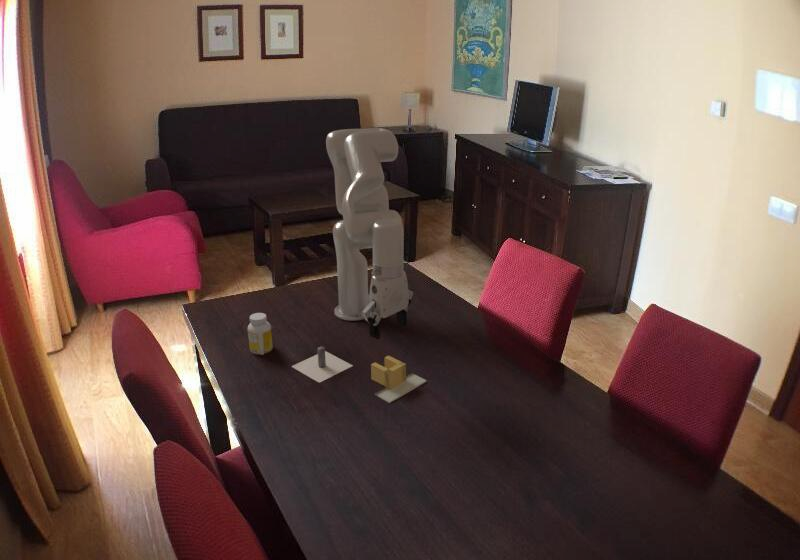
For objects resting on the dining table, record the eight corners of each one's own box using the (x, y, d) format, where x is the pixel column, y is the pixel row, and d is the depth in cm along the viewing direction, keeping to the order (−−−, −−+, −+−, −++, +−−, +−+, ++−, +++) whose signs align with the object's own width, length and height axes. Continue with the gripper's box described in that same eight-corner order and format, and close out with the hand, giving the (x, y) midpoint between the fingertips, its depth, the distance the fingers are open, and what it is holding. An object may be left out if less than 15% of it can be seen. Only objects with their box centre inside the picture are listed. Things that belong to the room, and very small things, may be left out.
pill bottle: (275, 347, 188) (272, 311, 184) (269, 358, 182) (266, 321, 178) (254, 346, 189) (250, 310, 184) (247, 357, 183) (243, 320, 178)
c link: (405, 380, 171) (406, 364, 169) (388, 390, 166) (388, 373, 164) (388, 371, 175) (388, 355, 173) (371, 380, 170) (370, 364, 168)
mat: (389, 363, 180) (389, 361, 180) (426, 381, 171) (426, 380, 171) (351, 382, 170) (351, 381, 170) (389, 403, 161) (389, 401, 161)
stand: (325, 353, 185) (323, 333, 182) (353, 368, 177) (352, 348, 174) (291, 369, 177) (289, 348, 174) (319, 385, 169) (318, 364, 166)
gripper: (373, 284, 150) (374, 348, 157) (423, 263, 161) (421, 324, 168) (351, 275, 155) (353, 337, 162) (401, 256, 166) (401, 315, 173)
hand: (388, 330), depth 165 cm, fingers open, 9 cm apart
